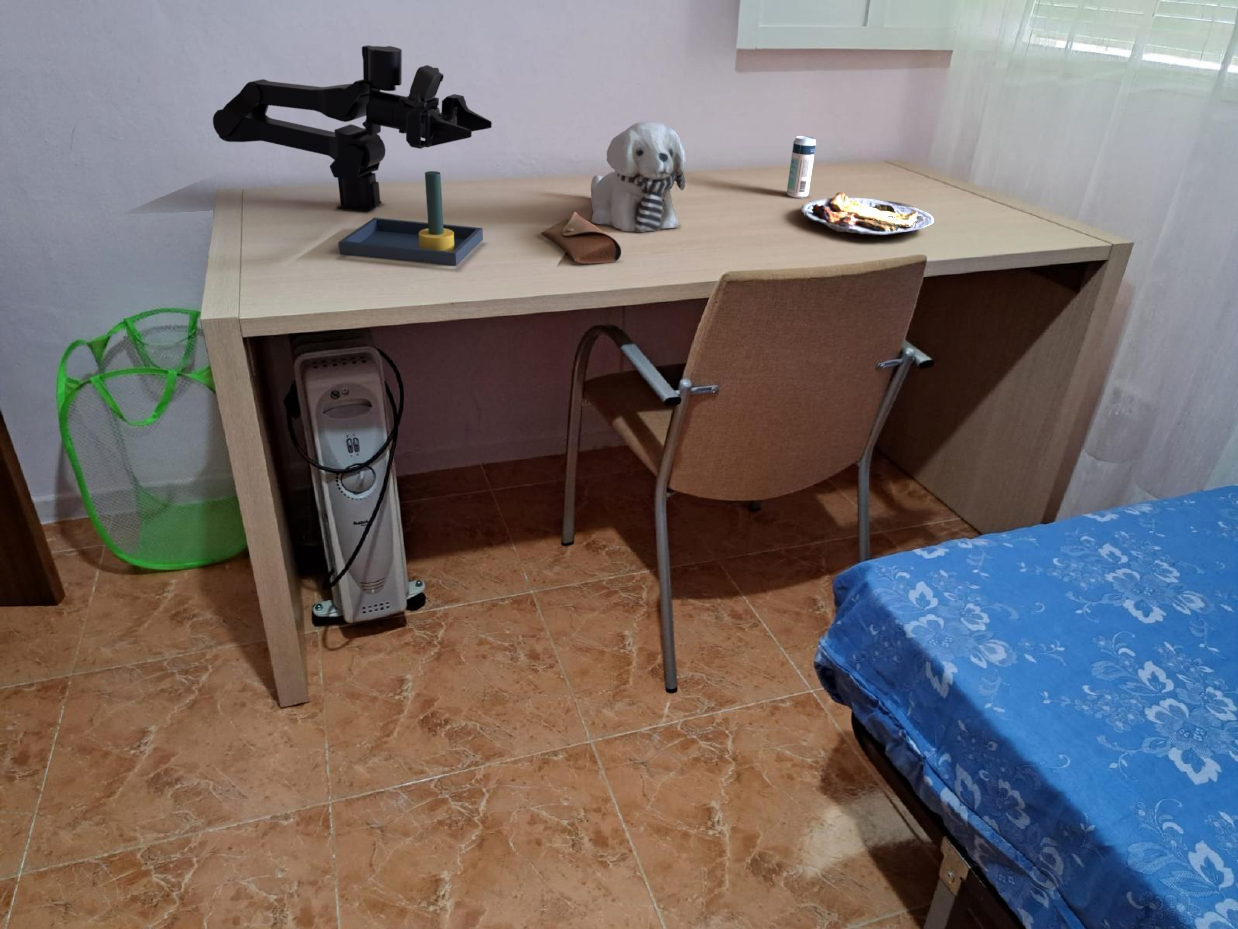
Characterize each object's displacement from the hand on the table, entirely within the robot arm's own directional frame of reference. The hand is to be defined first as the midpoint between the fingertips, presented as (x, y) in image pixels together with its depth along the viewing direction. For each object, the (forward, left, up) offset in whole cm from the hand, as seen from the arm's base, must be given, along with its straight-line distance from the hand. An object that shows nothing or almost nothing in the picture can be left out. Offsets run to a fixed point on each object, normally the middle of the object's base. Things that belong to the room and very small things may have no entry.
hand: (481, 129), depth 159 cm
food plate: (+71, +22, -17) cm, 76 cm away
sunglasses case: (+20, -10, -17) cm, 28 cm away
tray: (-6, -20, -17) cm, 26 cm away
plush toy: (+26, +14, -17) cm, 34 cm away
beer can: (+58, +40, -17) cm, 72 cm away
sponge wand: (-1, -22, -16) cm, 27 cm away
